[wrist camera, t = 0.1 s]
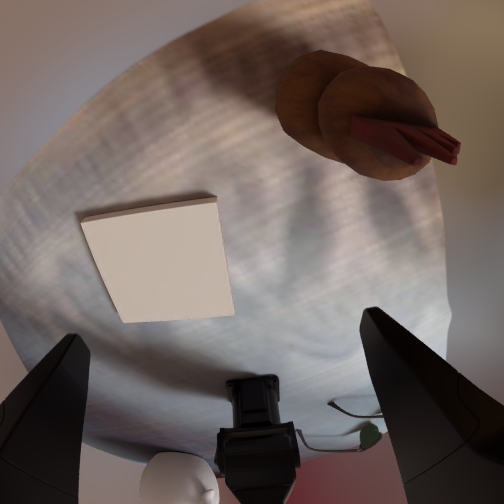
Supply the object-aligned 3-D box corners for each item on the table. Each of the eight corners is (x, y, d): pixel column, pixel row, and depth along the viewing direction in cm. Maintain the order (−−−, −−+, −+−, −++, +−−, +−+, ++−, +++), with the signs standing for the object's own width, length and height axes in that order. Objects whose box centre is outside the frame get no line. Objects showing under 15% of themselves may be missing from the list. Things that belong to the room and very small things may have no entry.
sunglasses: (338, 391, 39) (346, 419, 35) (410, 392, 44) (419, 414, 40) (287, 434, 47) (290, 457, 43) (357, 433, 52) (362, 452, 48)
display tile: (235, 307, 28) (235, 314, 27) (125, 315, 28) (123, 322, 27) (217, 196, 22) (216, 202, 21) (85, 217, 21) (80, 223, 21)
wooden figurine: (255, 119, 19) (312, 224, 6) (286, 44, 16) (417, -10, 3) (342, 154, 20) (478, 286, 8) (373, 86, 18) (554, 143, 5)
